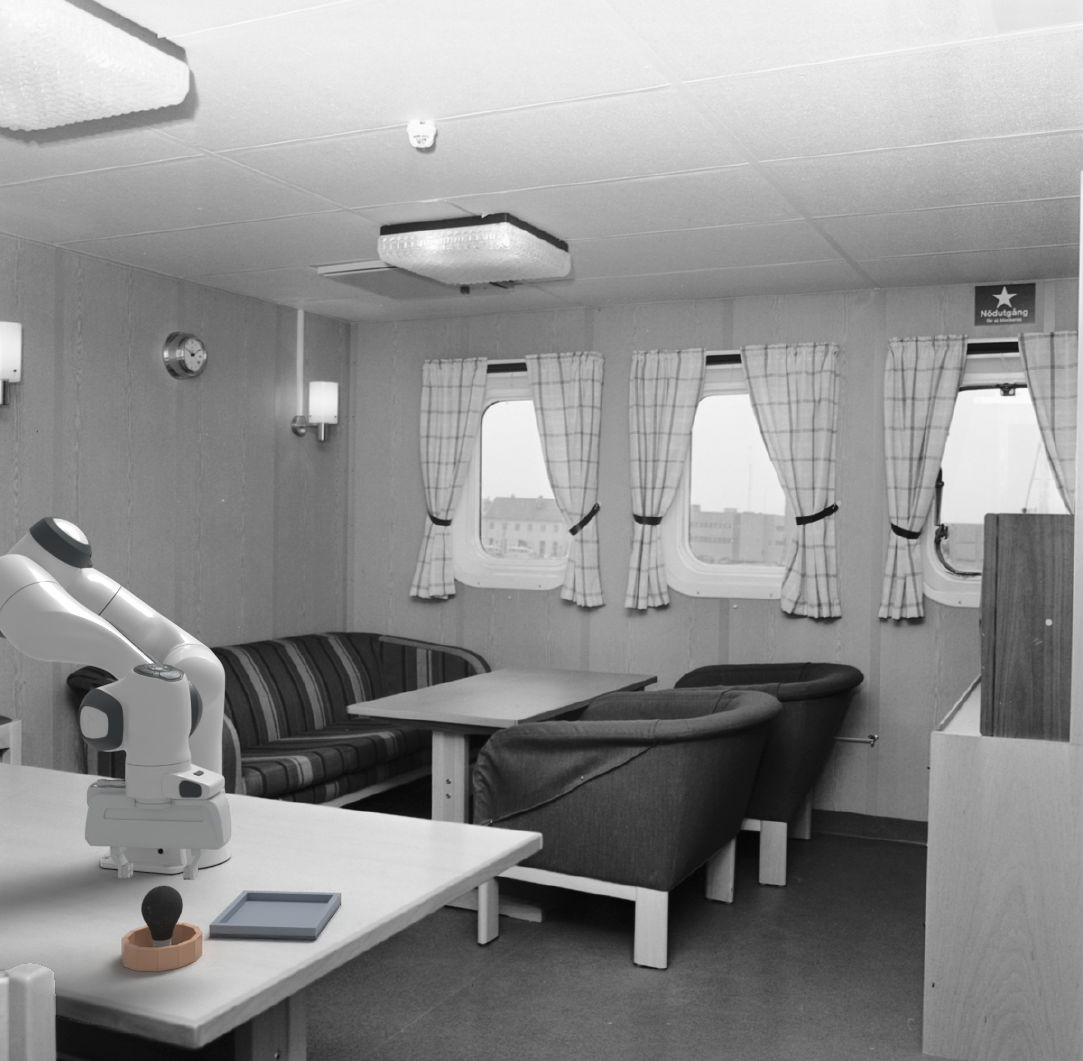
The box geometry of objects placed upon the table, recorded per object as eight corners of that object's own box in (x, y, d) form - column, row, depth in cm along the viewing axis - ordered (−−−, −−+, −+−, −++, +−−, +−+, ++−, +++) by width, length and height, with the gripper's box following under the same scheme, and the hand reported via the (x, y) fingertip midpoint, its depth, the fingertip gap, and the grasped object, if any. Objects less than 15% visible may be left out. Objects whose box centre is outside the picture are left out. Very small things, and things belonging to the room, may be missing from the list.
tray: (209, 936, 173) (209, 924, 173) (243, 901, 189) (243, 890, 189) (315, 939, 172) (315, 927, 172) (341, 903, 188) (341, 892, 188)
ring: (109, 969, 161) (109, 948, 161) (140, 941, 171) (140, 921, 171) (184, 972, 160) (185, 950, 160) (211, 943, 170) (211, 923, 170)
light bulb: (146, 949, 168) (146, 880, 168) (186, 948, 169) (186, 879, 168) (136, 964, 162) (136, 893, 162) (177, 963, 163) (178, 892, 163)
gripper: (76, 783, 163) (76, 882, 163) (220, 787, 161) (219, 887, 161) (97, 773, 169) (96, 868, 169) (235, 777, 167) (235, 873, 168)
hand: (158, 877), depth 165 cm, fingers open, 8 cm apart
